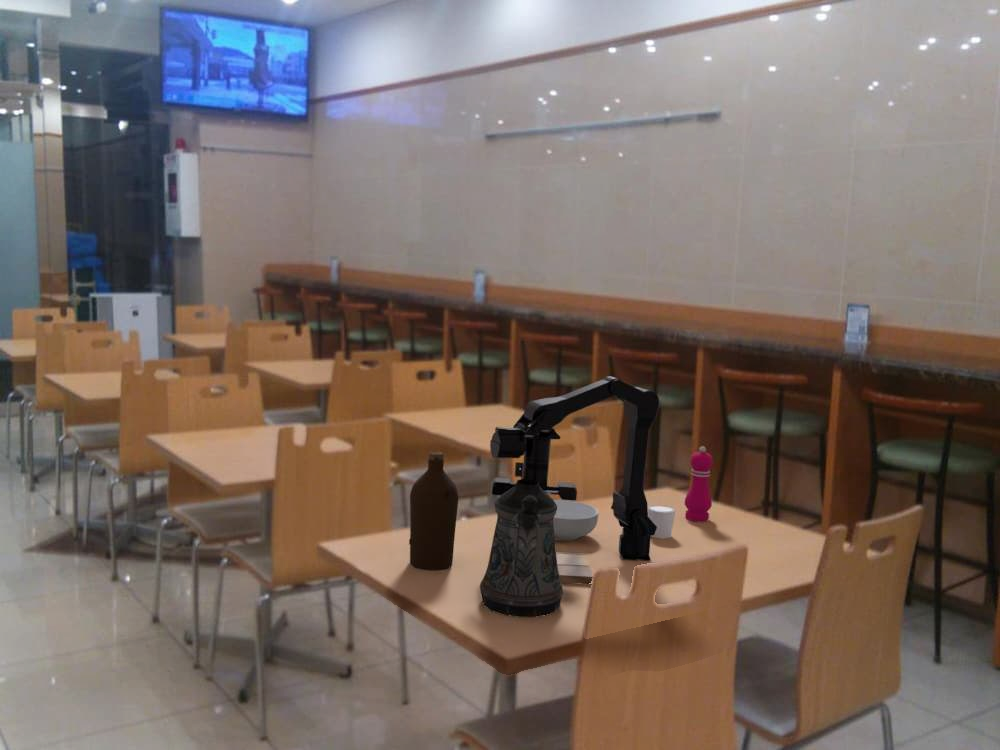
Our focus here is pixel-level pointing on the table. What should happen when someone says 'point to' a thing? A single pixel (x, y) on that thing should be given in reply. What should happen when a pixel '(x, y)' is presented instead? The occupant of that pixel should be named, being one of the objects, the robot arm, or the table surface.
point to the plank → (571, 559)
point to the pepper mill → (699, 487)
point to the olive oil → (433, 517)
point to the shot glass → (662, 520)
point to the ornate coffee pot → (523, 554)
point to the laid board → (575, 574)
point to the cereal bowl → (573, 519)
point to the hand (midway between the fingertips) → (530, 526)
